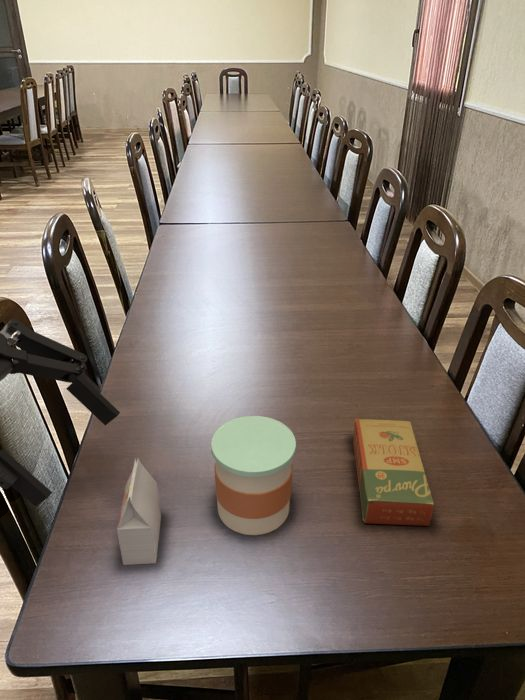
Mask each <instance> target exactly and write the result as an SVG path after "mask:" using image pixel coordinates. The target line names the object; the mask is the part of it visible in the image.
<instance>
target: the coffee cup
mask: <svg viewBox="0 0 525 700" xmlns="http://www.w3.org/2000/svg"><path fill="white" fill-rule="evenodd" d="M210 447H211V448H210V449H211V454H212V458H213V459H214V461H215V462H214V486H215V497H216V501H217V502H216V503H217V504H216V505H217V513H218V516H219V518H220V520H221V522H222V523H223V524H224V526H226V527H227V528H228V529H230V530H231V531H234V532H236V533H238V534H242V535H245V536H260V535H265V534H269V533H271V532H273V531H275V530H276V529H279V528H280V527H281V526H282V525H283V524H284V523H285V522H286V520H287V518H288V516H289V514H290V503H291V496H292V490H293V489H292V487H293V469H294V468H293V459H294V457H295V455H296V451H297V440H296V437H295V434H294V433H293V432H292V430H291V429H290V428H289V427H288V426H287V425H286V424H284V423H283V422H281V421H279V420H277V419H275V418H272V417H267V416H262V415H246V416H245V415H244V416H240V417H237V418H236V417H235V418H233V419H231V420H228V421H226V422H225V423H223V424H222V425H221V426H219V428H217V429H216V430H215V432H214V433H213V435H212V438H211V443H210Z"/></svg>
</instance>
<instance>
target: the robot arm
mask: <svg viewBox="0 0 525 700" xmlns="http://www.w3.org/2000/svg"><path fill="white" fill-rule="evenodd" d="M12 345H14V346H15V347H12ZM16 347H17V348H16ZM86 362H88V356H87V355H86V354H84V353H83V352H80V351H78V350H76V349H74V348H72V347H70V346H67V345H65V344H62V343H60V342H58V341H56V340H54V339H52V338H50V337H47V336H45V335H43V334H41V333H38V332H36V331H34V330H32V329H30V328H29V327H27V326H26V325H25V324H23V322H21V321H20V320H19V319H17V318H16V317H15V318H14V317H13V318H10V319H9V321H8V322H7V323H6V325H4V326H3V328H2V329H1V330H0V382H2V381H3V380H4V379H5V378H7V376H8V375H9V374H10V375H16V374H22V375H26V376H27V375H28V376H32V377H37V378H43V379H48V380H53V381H58V382H63V383H69V385H68V386H67V387H66V388H65V389H66V391H68V392H69V393H70V394H71V396H73V397H74V398H75V399H76V400H77V401H78V402H80V403H81V405H83V406H84V407H85V408H86V409H87V410H88V411H89V412H90V413H91V414H92V415H93V416H94V417H95V418H97V420H98V421H100V422H101V423H102V424H103V425H104V426H107V425H108V424H109V423H111V422H112V421H113V420H114V419H116V418H117V417H118V416H119V415H120V414H121V412H120V411H119V410H118V409H117V408H116V406H114V405H113V404H112V403H111V402H110V401H109V400H108V399H107V398H105V396H104V395H103V394H102V393H101V392H102V390H101V388H100V386H98V385H97V384H96V383H95V382H94V381H93V380H92V379H91V378H90V377H89V376H88V375H87V374H86V373H85V370H87V365H86ZM11 487H12V489H14V490H15V491H17V493H19V494H20V495H21V496H22V497H23V498H24V499H25V500H27V501H28V502H29V503H30V504H31V505H32V506H34V507H37V506H39V505H40V504H41V503H43V502H44V501H45V500H47V499H49V497H50V496H51V495H52V493H53V492H52V491H51V490H50V489H49V488H48V487H47V486H46V485H45V484H44V483H43V482H41V481H40V480H39V479H38V478H37V477H36V476H34V475H33V474H32V473H31V472H30V471H29V470H28V469H26V467H24V466H23V465H22V464H21V463H20V462H19V461H18V460H16V459H15V458H14V456H12V455H11V454H10V453H8V452H7V451H6V450H5V449H3V448H2V449H1V450H0V488H2V489H4V490H9V488H11Z"/></svg>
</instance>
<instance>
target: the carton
mask: <svg viewBox="0 0 525 700" xmlns="http://www.w3.org/2000/svg"><path fill="white" fill-rule="evenodd" d="M352 437H353V440H352V442H353V443H352V444H353V451H354V458H355V465H356V473H357V481H358V489H359V497H360V505H361V515H362V516H361V519H362V522H363V523H364V524H379V525H397V526H398V525H399V526H426V527H428V526H430V524H431V520H432V516H433V513H434V510H435V509H434V507H435V506H434V505H435V502H434V499H433V496H432V491H431V488H430V485H429V482H428V478H427V475H426V472H425V468H424V465H423V461H422V458H421V454H420V451H419V447H418V443H417V440H416V436H415V433H414V430H413V425H412V422H411V421H406V420H393V419H392V420H391V419H368V418H365V419H364V418H356V419H354V428H353V436H352Z"/></svg>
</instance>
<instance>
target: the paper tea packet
mask: <svg viewBox="0 0 525 700" xmlns="http://www.w3.org/2000/svg"><path fill="white" fill-rule="evenodd" d="M136 459H137V460H136ZM161 521H162V513H161V505H160V497H159V490H158V482H157V481H156V480H155V479H154V478H153V477H152V475H151V474H150V473H149V472H148V471H147V469H146V468H145V467H144V465H143V464H142V462H141V461H140V458H139V457H138V458H134V463H133V467H132V470H131V472H130V474H129V475H128V478H127V480H126V483H125V485H124V491H123V496H122V501H121V506H120V511H119V516H118V520H117V525H116V533H117V538H118V543H119V544H118V545H119V549H120V556H121V560H122V565H123V566H131V565H133V566H134V565H150V564H157V559H158V549H159V542H160V541H159V540H160V531H161Z"/></svg>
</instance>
